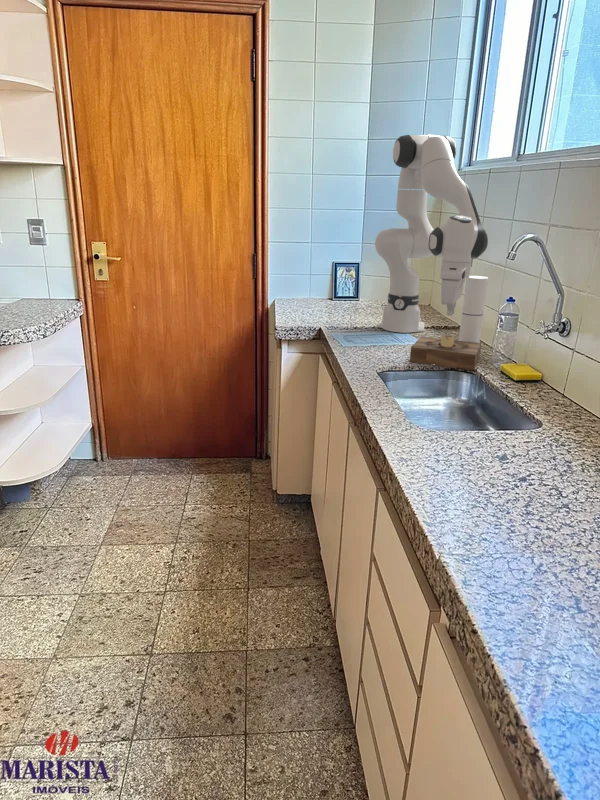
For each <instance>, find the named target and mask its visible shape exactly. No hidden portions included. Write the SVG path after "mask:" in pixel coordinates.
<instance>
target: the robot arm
mask: <svg viewBox="0 0 600 800" xmlns="http://www.w3.org/2000/svg"><path fill="white" fill-rule="evenodd" d="M456 155H457V144H456V140H454V138H453V137H450V136H446V135H442V136H441V135H436V134H415V135H413V134H412V135H410V134H404V135H401V136H399V137H397V139H396V140H395V142H394V145H393V149H392V159H393V162H394V164H395V165H396V166H397V167H399V168H400V173H399V177H398V185H397V194H396V197H397V198H396V206H395V208H396V212H397V214H398V215H399V216H400V217H401V218H403V219H405V220H406V221H407V223H408V224H407V225H408V228H394V227H393V228H388V229H384V230H381V231H379V232H378V234H377V235H376V238H375V241H374V247H375V251H376V253H377V254H378V256H380V257H381V258H382V259H383V260H384V261H385V263H386V265H387V267H388V270H389V278H390V279H389V293H388V295H387V304H386V305H385V306H384V307H383V310H382V319H381V323H378V326H379V327H378V326H377V327H378V328H380V329H383V330H385V331H389V332H395V333H405V334H406V333H409V334H410V333H420V332H421V333H422V332H425V321H423V320H422V318H421V309H420V307H419V300H420V296H419V286H420V275H419V273H418V271H417V270H415V269H414V268H412V267H411V266H409V264H408V259H425V258H430V257H437V258H438V257H439V258H442V260H441V264H440V275H439V276H440V277H439V278H440V279H441V287H440V288H441V289H440V291H441V292H440V299H441V305H445V306H446V309H447V311H446V316H450V317H452V316H453V315H454V314H455V309H456V305H457V301H458V300H460V298H461V297H462V296H463V289H464V283H466V278H468V277H469V276H471V267H472V259H473V260H476V259H478V258H479V257H480V256H482V255H483V253H484V252H485V251H486V250H487V247H488V245H489V238H488V234H487V232H486V230H485V229H484V226H483V224H482V222H481V218H480V216H479V213H478V211H477V207H476V204H475V201H474V197H473V195H472V191H471V190H470V187H469V185H468V184H467V183H466V182H465V181H463V180H462V178H461V177H460V176H459V174H458V171H457V169H456V166H455V158H456ZM428 195H429V196H432V197H433V198H436V199H438V200H441V201H444V202H447V203H449V204H451V205H453V206H454V207H455V208H456V209H457V211H458V213H459V215H451V216H449V217H448V218H447V220H446V223H444V224H442V225H441V226H436V227H435V228H433V227H432V225H431V223H430V221H429V218H428V213H427V212H428V210H427V209H428V208H427V207H428V206H427V205H428ZM440 279H439V280H440Z"/></svg>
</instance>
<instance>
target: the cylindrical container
mask: <svg viewBox="0 0 600 800" xmlns="http://www.w3.org/2000/svg"><path fill="white" fill-rule="evenodd" d="M488 282H489V277H488V276H480V275H470V276H469V277H468V278H465V286H464V293H463V294H464V296H463V303H462V304H463V305H462V312H461V320H460V328H459V336H458V341H466V342H475V343H481V342H480V341H481V335H482V327H483V319H484V312H485V306H486V305H485V304H486V299H487V298H486V297H487V293H488V292H487V291H488V290H487V289H488Z"/></svg>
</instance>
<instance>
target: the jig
mask: <svg viewBox="0 0 600 800" xmlns="http://www.w3.org/2000/svg"><path fill="white" fill-rule="evenodd" d="M481 348H482V343H481V342H480V343H475V342H466V341H459V340H456V339H454V343H453V347H442V346H441V338H439V337H438V338H437V337H429V336H420V337H419V338H418V339H417V340H416V342H414V343H413V344H412V345H411V346H410V355H409V363H414V362H416V363H417V364H422V363H425V364H424V365H430V364H435V365H434V366H437V365H439V367H446V368H454V369H462V370H468V371H469V370H471V371H475V369H476V366H477V364H478V361H479V360H480V357H481Z"/></svg>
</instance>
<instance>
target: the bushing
mask: <svg viewBox="0 0 600 800" xmlns="http://www.w3.org/2000/svg"><path fill="white" fill-rule="evenodd" d="M440 339H441V346H442V347H453V343H454V340H455V335H452V334H442V335H441V337H440Z"/></svg>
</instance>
